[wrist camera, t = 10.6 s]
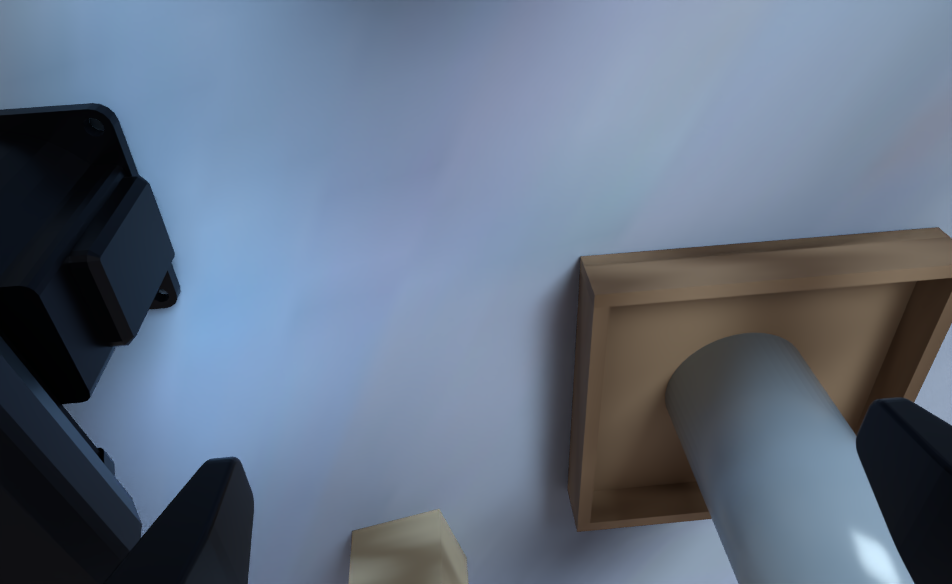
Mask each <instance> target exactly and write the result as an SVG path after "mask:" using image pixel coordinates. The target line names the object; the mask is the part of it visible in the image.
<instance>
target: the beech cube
mask: <svg viewBox="0 0 952 584" xmlns="http://www.w3.org/2000/svg"><path fill="white" fill-rule="evenodd" d="M349 584H468V572H467V558H466V556H465V554H464V553H463V551H462V549H461V547H460V545H459V544H458V542H457V540H456V538H455V536H454V535H453V533H452V531H451V529H450V527H449V526H448V524H447V522H446V520H445V518H444V517H443V515H442V513H441V511H440V509H436V510H432V511H429V512H425V513H421V514H417V515H413V516H409V517H405V518H401V519H397V520H393V521H389V522H386V523H382V524H378V525H374V526H370V527H366V528H362V529H358V530H354V531H352V542H351V556H350V570H349Z"/></svg>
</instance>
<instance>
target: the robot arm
mask: <svg viewBox="0 0 952 584" xmlns="http://www.w3.org/2000/svg"><path fill="white" fill-rule="evenodd" d="M89 118H93V119H97V120H98V121H100V122H101V123H102V124H103V126H104V130H97V129H96V128H94V127H93V126H92V125H91V124H90V122H89ZM174 255H175V253H174V250H173V247H172V244H171V242H170V239H169V236H168V233H167V230H166V228H165V225H164V222H163V219H162V217H161V214H160V211H159V208H158V206H157V203H156V200H155V197H154V195H153V192H152V189H151V186H150V184H149V183H148V182H147V181H146V180H145V179H144V178H142V177H141V176H139V174H138V171H137V169H136V166H135V163H134V161H133V158H132V155H131V153H130V150H129V147H128V144H127V142H126V139H125V136H124V134H123V131H122V128H121V125H120V123H119V120H118V118H117V117H116V115H115V113H114V112H112V111H111V110H110V109H109V108H108V107H106V106H103V105H101V104H94V103H90V104H75V105H61V106H47V107H33V108H19V109H5V110H0V584H248V572H249V561H250V549H251V538H252V526H253V515H254V498H253V493H252V490H251V487H250V485H249V482H248V479H247V477H246V474H245V471H244V469H243V466H242V463H241V462H240V460H239V459H238V458H236V457H224V458H213V459H209V460H207V461H206V462H205V463H204V464H203V465H202V466H201V467H200V468H199V469H198V471H197V472H196V473H195V474H194V475H193V477H192V478H191V479H190V480H189V481H188V483H187V484H186V485H185V486H184V487H183V489H182V490H181V491H180V492H179V493H178V494H177V496H176V497H175V498H174V499H173V500H172V502H171V503H170V504H169V505H168V506H167V508H166V509H165V510H164V511H163V512H162V514H161V515H160V516H159V517H158V518H157V520H156V521H155V522H154V523H153V524H152V526H151V527H150V528H149V529H148V530H147V532H146V533H145V534H144V535H143V536H142V537H141V528H142V524H141V521H140V518H139V516H138V513H137V510H136V508H135V505H134V502H133V500H132V497H131V496H130V495H129V494H128V493H127V491H126V490H125V489H124V488H123V486H122V485H121V484H120V483H119V481H118V480H117V479H116V478H115V469H114V462H113V461H112V459H111V458H110V457H109V456H108V454H107V453H106V452H105V451H104V449H102V448H96V446H95V445H94V444H93V443H92V441H91V440H90V439H89V438H88V436H87V435H86V434H85V433H84V432H83V430H82V429H81V428H80V427H79V425H78V424H77V423H76V422H75V420H74V419H73V418H72V417H71V415H70V414H69V413H68V412H67V410H66V409H65V408H64V407H63V405H62V404H69V403H80V402H84V401H87V400H88V399H89V398H90V397H91V395H92V393H93V391H94V389H95V387H96V385H97V383H98V381H99V379H100V377H101V375H102V373H103V371H104V369H105V367H106V365H107V363H108V361H109V359H110V357H111V355H112V353H113V351H114V349H115V347H116V346H126V345H129V344H130V343H131V341H132V340H133V339H134V338H135V336H136V335H137V333H138V331H139V329H140V326H141V324H142V322H143V320H144V318H145V316H146V314H147V312H148V310H149V309H159V308H167V307H171V306H172V305H174V304H175V303H176V301H177V298H178V296H179V294H180V285H179V282H178V280H177V277H176V274H175V272H174V269H173V266H172V263H171V262H172V260H173V258H174ZM158 289H163V290H165V291H166V292H167V293H168V294H161V293H160V292H158ZM856 450H857V454H858V457H859V459H860V461H861V464H862V466H863V469H864V471H865V474H866V476H867V479H868V481H869V484H870V486H871V489H872V491H873V493H874V496H875V498H876V501H877V503H878V506H879V508H880V511H881V513H882V516H883V518H884V520H885V523H886V525H887V528H888V530H889V533H890V535H891V537H892V540H893V542H894V544H895V546H896V549H897V551H898V553H899V555H900V557H901V559H902V561H903V563H904V565H905V567H906V569H907V571H908V572H909V574H910V576H911V578H912V580H913V582H914V584H952V425H950V424H948V423H947V422H945V421H943V420H942V419H940V418H938V417H937V416H935V415H933V414H932V413H930V412H928V411H927V410H925V409H924V408H922V407H920V406H919V405H917V404H915V403H914V402H912V401H910V400H908V399H906V398H902V397H894V398H883V399H876V400H874V401H873V402H872V403H871V404H870V406H869V408H868V410H867V412H866V415H865V417H864V419H863V422H862V424H861V426H860V429H859V431H858V434H857V436H856Z"/></svg>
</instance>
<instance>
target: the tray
mask: <svg viewBox="0 0 952 584" xmlns="http://www.w3.org/2000/svg"><path fill="white" fill-rule="evenodd" d="M951 323H952V238H950V237H949V236H948V235H947V234H946V233H944V232H943V231H942V230H941V229H940V228H939V227H936V228H924V229H912V230H899V231H887V232H875V233H863V234H850V235H838V236H826V237H814V238H801V239H789V240H777V241H765V242H752V243H740V244H728V245H716V246H704V247H691V248H679V249H667V250H655V251H642V252H630V253H618V254H606V255H593V256H581V260H580V277H579V295H578V313H577V330H576V348H575V366H574V383H573V401H572V419H571V436H570V454H569V472H568V494H569V498H570V502H571V507H572V511H573V516H574V520H575V524H576V529H577V532H581V531H591V530H602V529H612V528H622V527H632V526H643V525H653V524H663V523H673V522H684V521H694V520H704V519H712V518H711V515H710V513H709V511H708V508H707V506H706V503H705V501H704V498H703V496H702V493H701V491H700V489H699V486H698V484H697V481H696V479H695V476H694V474H693V472H692V469H691V467H690V464H689V462H688V459H687V457H686V454H685V452H684V450H683V447H682V445H681V442H680V440H679V437H678V435H677V433H676V430H675V428H674V425H673V423H672V420H671V418H670V416H669V413H668V411H667V408H666V404H665V392H666V388H667V385H668V382H669V380H670V378H671V376H672V375H673V373H674V372H675V371H676V369H677V368H678V367H679V366H680V365H681V363H682V362H683V361H685V360H686V359H687V358H688V357H689V356H690V355H692V354H693V353H694V352H696V351H697V350H699V349H701V348H702V347H704V346H706V345H708V344H710V343H712V342H714V341H717V340H719V339H722V338H725V337H729V336H732V335H737V334H743V333H766V334H772V335H775V336H779V337H781V338H783V339H786V340H787V341H789V342H790V343H792V344H793V345H794V346H795V347H796V348H797V349H798V351H799V352H800V354H801V355H802V357H803V358H804V360H805V361H806V362H807V364H808V365H809V367H810V368H811V370H812V371H813V373H814V374H815V376H816V377H817V379H818V380H819V382H820V383H821V384H822V386H823V387H824V389H825V390H826V392H827V393H828V395H829V396H830V398H831V399H832V401H833V402H834V404H835V405H836V406H837V408H838V409H839V411H840V412H841V414H842V415H843V417H844V418H845V420H846V421H847V423H848V424H849V426H850V427H851V428H852V430H853V431H854V433H855V434H856V436H857V434H858V431H859V429H860V426H861V424H862V422H863V419H864V417H865V415H866V412H867V410H868V408H869V406H870V404H871V403H872V402H873V401H874V400H876V399H883V398H894V397H902V398H906V399H908V400H910V401H912V402H915V399H916V397H917V395H918V393H919V391H920V389H921V387H922V385H923V383H924V380H925V378H926V376H927V374H928V372H929V370H930V368H931V366H932V363H933V361H934V359H935V357H936V355H937V353H938V351H939V349H940V347H941V344H942V342H943V340H944V338H945V336H946V334H947V332H948V330H949V328H950V325H951Z"/></svg>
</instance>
